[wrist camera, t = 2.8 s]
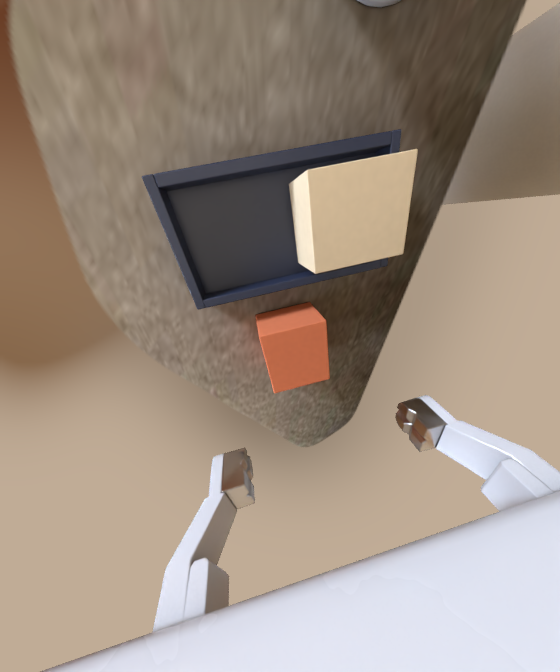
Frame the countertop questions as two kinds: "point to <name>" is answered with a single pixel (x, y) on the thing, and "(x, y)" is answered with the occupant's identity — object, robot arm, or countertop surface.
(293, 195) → the cream block
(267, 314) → the orange block
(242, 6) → the countertop surface
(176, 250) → the frame
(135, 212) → the countertop surface
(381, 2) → the canned tomato
